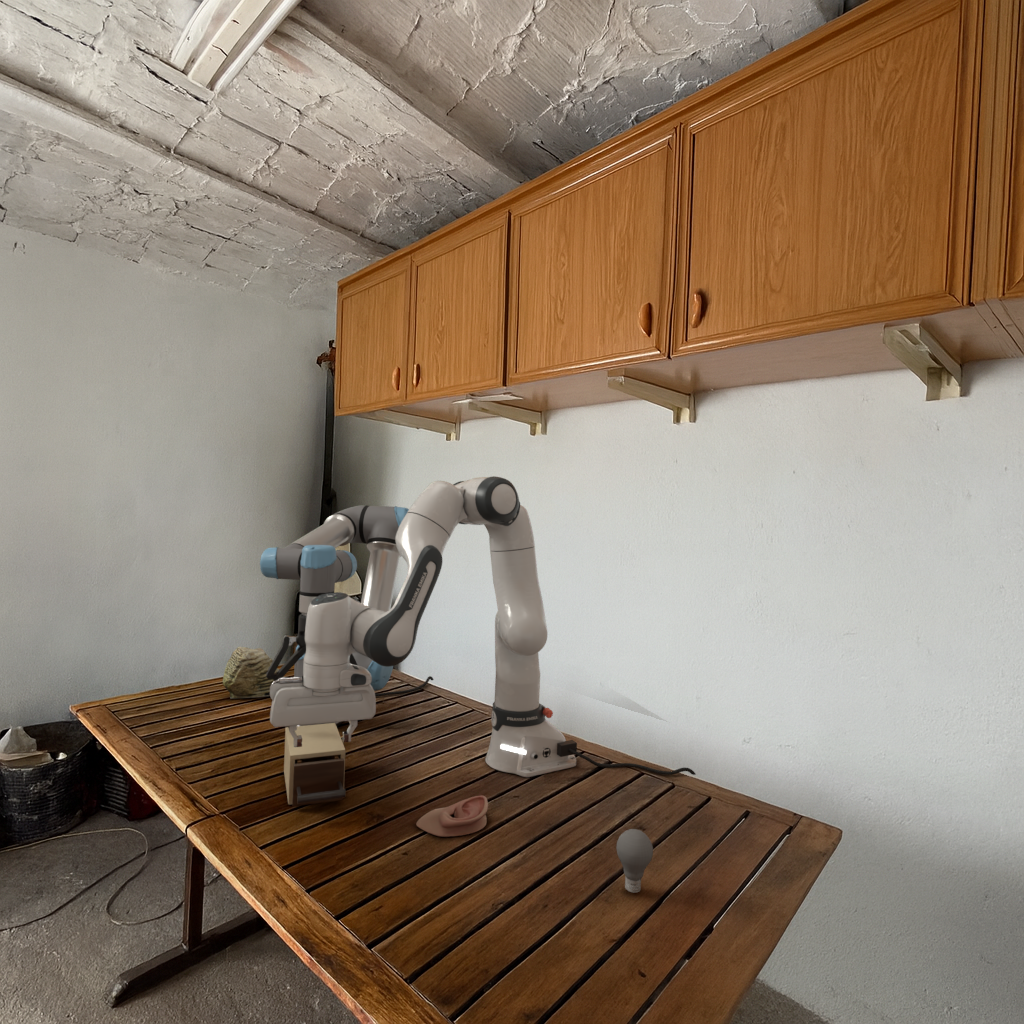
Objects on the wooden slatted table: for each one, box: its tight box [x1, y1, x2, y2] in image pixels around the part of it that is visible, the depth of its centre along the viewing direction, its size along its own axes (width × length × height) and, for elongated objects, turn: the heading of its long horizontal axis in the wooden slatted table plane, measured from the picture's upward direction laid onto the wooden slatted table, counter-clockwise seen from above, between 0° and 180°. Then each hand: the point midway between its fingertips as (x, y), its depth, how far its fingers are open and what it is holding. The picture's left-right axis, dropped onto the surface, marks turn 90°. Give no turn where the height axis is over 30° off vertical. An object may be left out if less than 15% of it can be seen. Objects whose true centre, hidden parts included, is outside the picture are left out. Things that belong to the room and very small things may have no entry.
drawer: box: [291, 755, 347, 808], centre depth 133 cm, size 21×10×8 cm, turn 23°
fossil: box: [222, 646, 285, 699], centre depth 198 cm, size 9×18×15 cm, turn 132°
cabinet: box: [283, 723, 346, 806], centre depth 139 cm, size 17×11×10 cm, turn 23°
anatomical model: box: [415, 795, 489, 838], centre depth 125 cm, size 13×4×12 cm
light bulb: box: [615, 828, 654, 894], centre depth 106 cm, size 6×6×10 cm
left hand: (312, 706), depth 144 cm, fingers open, 13 cm apart
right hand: (322, 743), depth 127 cm, fingers open, 8 cm apart
